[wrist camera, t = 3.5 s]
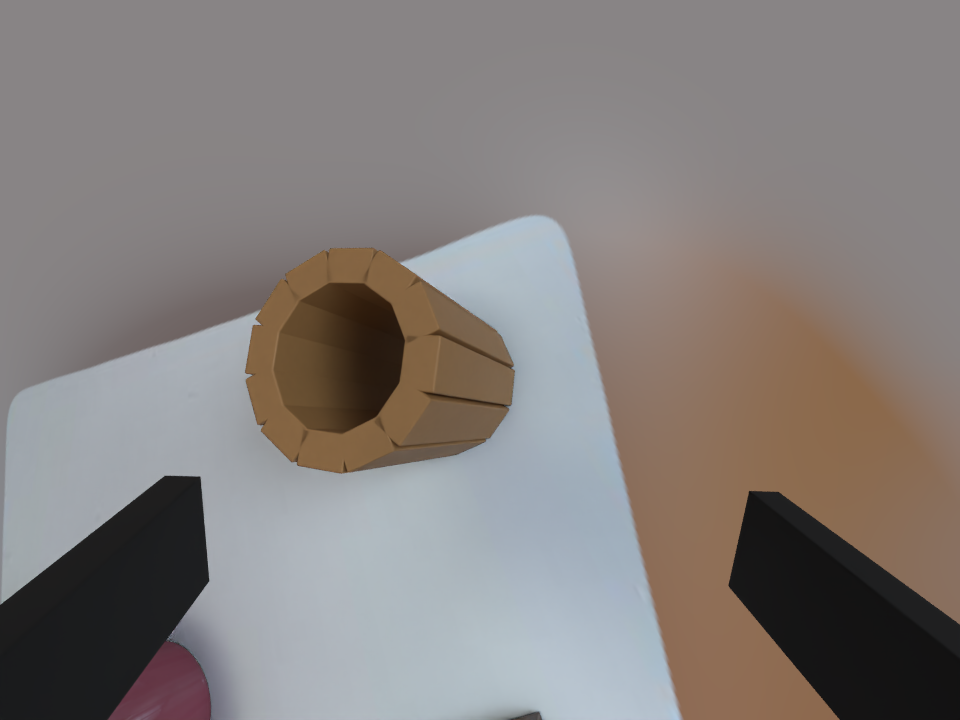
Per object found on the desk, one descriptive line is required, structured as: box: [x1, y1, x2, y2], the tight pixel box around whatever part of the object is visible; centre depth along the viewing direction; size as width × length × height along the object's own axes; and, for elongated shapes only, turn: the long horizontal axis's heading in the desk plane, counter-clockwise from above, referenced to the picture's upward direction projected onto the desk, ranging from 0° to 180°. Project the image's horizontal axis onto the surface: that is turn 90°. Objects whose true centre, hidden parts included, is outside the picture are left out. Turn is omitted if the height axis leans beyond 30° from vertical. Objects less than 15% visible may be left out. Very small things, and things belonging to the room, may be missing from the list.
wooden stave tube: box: [245, 248, 515, 474], centre depth 25 cm, size 10×10×12 cm
